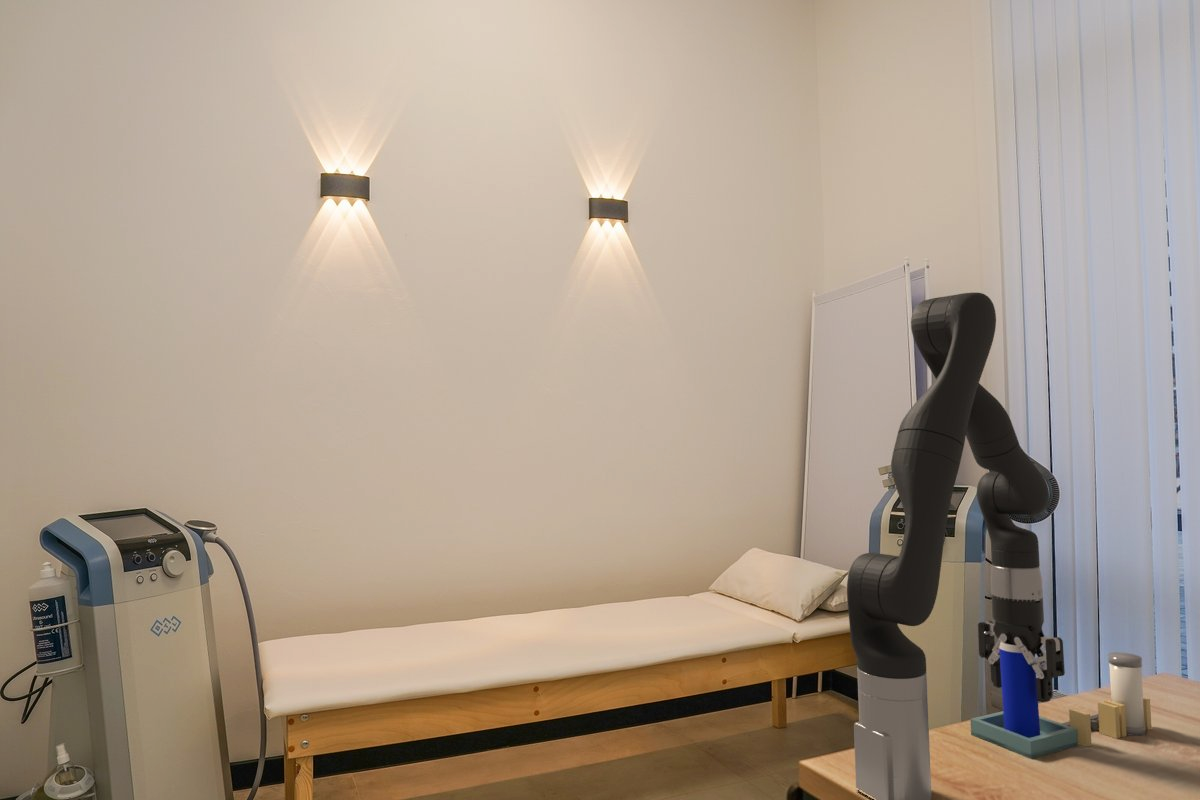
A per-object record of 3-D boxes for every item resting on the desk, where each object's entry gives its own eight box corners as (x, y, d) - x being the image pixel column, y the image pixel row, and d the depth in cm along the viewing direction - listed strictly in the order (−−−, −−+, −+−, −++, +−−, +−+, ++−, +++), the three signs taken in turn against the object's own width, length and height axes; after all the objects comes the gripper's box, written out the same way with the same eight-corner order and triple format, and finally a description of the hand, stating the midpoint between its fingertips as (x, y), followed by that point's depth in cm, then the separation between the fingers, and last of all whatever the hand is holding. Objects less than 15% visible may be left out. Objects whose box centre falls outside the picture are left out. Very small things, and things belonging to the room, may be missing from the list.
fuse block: (1085, 747, 124) (1084, 715, 124) (1052, 734, 129) (1050, 704, 130) (1151, 728, 131) (1149, 698, 131) (1117, 718, 136) (1115, 689, 136)
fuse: (1134, 737, 128) (1130, 661, 128) (1105, 727, 132) (1101, 654, 132) (1152, 732, 129) (1148, 657, 130) (1123, 723, 134) (1119, 651, 134)
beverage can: (1031, 730, 130) (1025, 638, 131) (1046, 741, 125) (1039, 646, 126) (999, 730, 130) (993, 639, 131) (1012, 741, 125) (1006, 646, 126)
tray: (1031, 758, 120) (1030, 741, 120) (971, 734, 130) (970, 718, 130) (1078, 745, 125) (1077, 729, 125) (1016, 723, 135) (1016, 708, 135)
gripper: (964, 588, 134) (968, 685, 133) (1041, 603, 121) (1046, 711, 120) (995, 583, 137) (999, 678, 136) (1073, 598, 124) (1078, 703, 123)
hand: (1021, 693), depth 128 cm, fingers open, 7 cm apart
